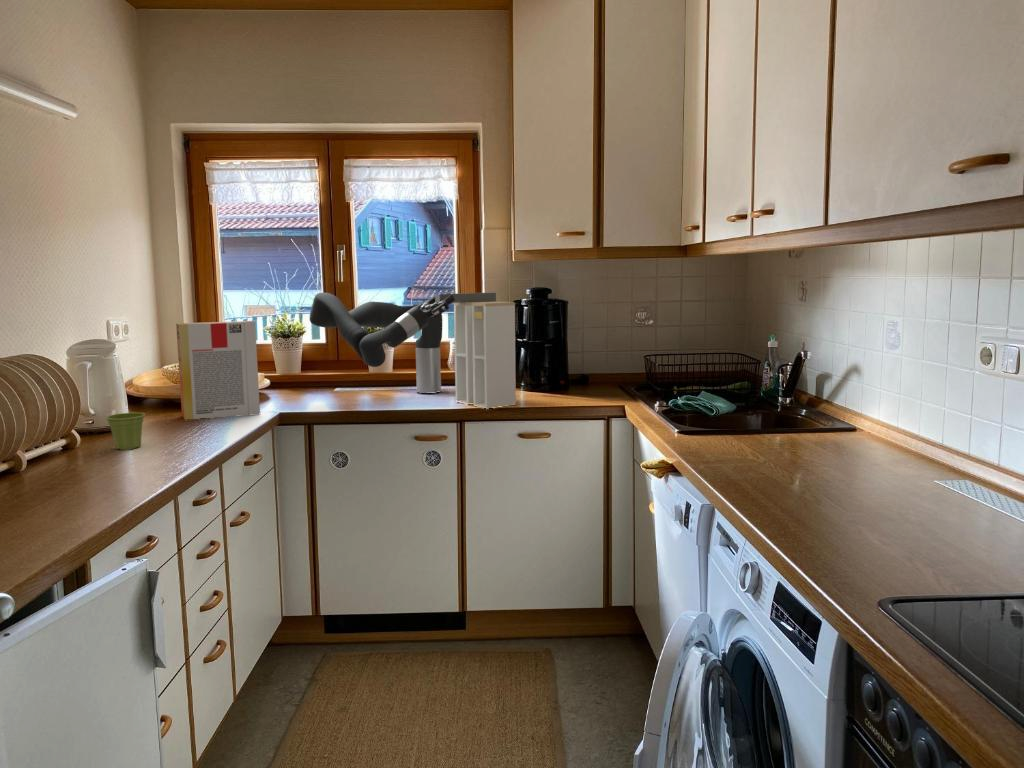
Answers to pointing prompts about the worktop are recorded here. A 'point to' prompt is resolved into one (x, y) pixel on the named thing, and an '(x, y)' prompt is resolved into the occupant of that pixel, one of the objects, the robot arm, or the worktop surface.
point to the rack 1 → (463, 351)
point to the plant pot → (126, 429)
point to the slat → (467, 297)
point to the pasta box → (218, 369)
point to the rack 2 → (493, 354)
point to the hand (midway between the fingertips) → (446, 297)
